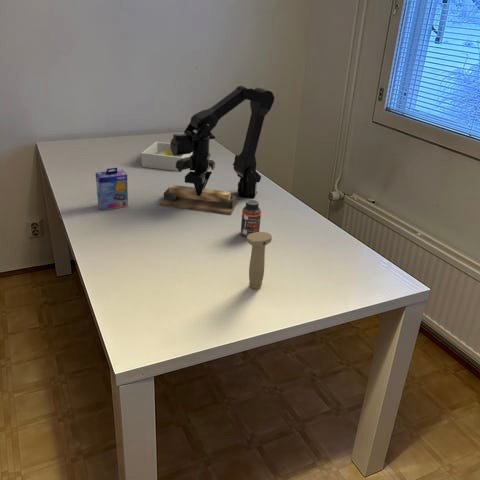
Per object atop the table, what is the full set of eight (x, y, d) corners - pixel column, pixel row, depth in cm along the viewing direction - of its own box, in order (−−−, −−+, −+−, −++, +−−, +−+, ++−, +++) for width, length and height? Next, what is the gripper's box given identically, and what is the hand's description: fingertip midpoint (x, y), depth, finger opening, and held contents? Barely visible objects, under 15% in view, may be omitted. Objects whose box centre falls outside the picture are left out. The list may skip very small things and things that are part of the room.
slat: (230, 199, 177) (230, 192, 175) (228, 202, 174) (228, 195, 173) (171, 192, 180) (171, 184, 179) (169, 195, 177) (169, 187, 176)
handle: (240, 284, 131) (243, 234, 124) (260, 279, 134) (264, 230, 127) (249, 294, 128) (253, 243, 121) (270, 288, 131) (275, 238, 124)
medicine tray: (194, 158, 223) (194, 146, 220) (182, 171, 207) (182, 157, 204) (156, 154, 225) (156, 141, 222) (141, 166, 209) (141, 153, 207)
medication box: (154, 164, 214) (154, 155, 212) (150, 162, 215) (150, 153, 213) (176, 158, 221) (176, 150, 219) (172, 156, 223) (172, 148, 221)
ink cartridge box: (101, 211, 168) (98, 171, 161) (97, 205, 172) (93, 165, 165) (129, 206, 172) (127, 167, 165) (124, 201, 176) (122, 162, 170)
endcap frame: (238, 201, 181) (238, 192, 180) (231, 214, 171) (231, 205, 169) (170, 192, 185) (170, 184, 184) (160, 205, 175) (159, 195, 173)
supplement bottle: (246, 239, 155) (248, 206, 149) (237, 232, 159) (239, 199, 154) (262, 236, 157) (265, 204, 152) (253, 229, 162) (255, 197, 157)
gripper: (186, 142, 179) (186, 182, 186) (169, 157, 162) (170, 200, 169) (216, 145, 177) (214, 185, 184) (202, 161, 161) (201, 204, 168)
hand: (200, 193), depth 176 cm, fingers closed on slat, 3 cm apart
